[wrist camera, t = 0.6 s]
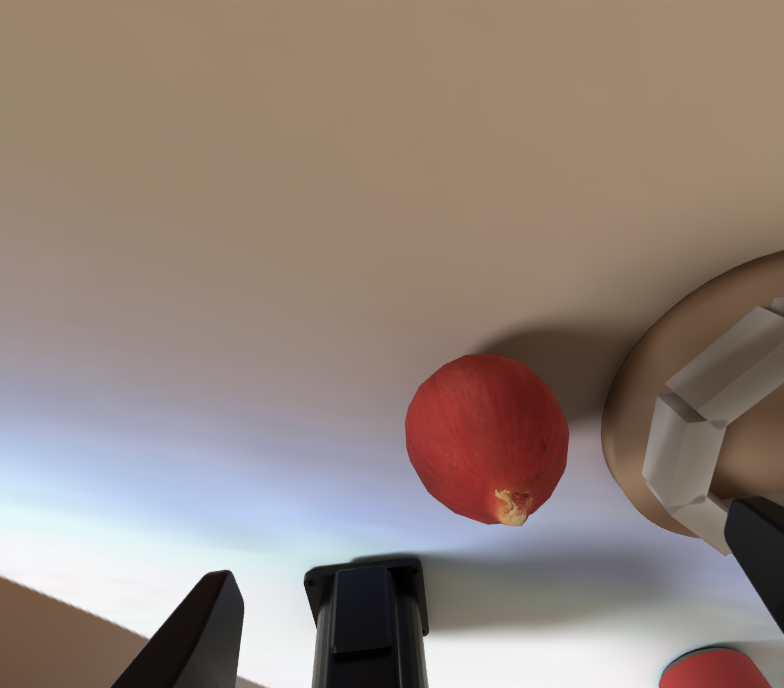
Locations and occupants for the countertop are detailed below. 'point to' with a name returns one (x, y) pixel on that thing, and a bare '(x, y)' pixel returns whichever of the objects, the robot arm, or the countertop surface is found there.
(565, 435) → the onion
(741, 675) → the beer can
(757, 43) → the countertop surface
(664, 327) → the ring board
